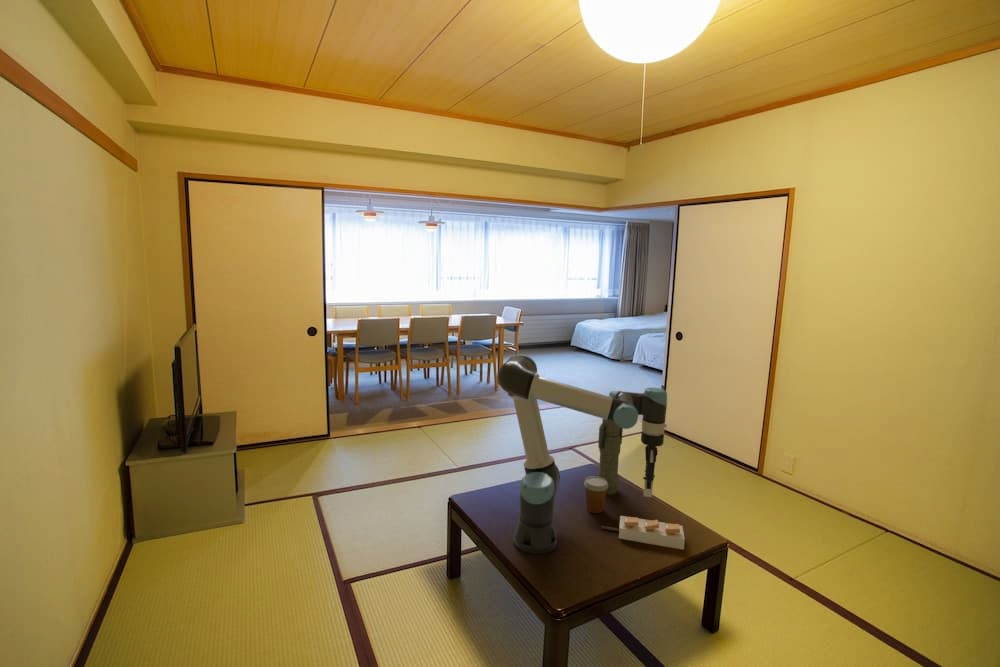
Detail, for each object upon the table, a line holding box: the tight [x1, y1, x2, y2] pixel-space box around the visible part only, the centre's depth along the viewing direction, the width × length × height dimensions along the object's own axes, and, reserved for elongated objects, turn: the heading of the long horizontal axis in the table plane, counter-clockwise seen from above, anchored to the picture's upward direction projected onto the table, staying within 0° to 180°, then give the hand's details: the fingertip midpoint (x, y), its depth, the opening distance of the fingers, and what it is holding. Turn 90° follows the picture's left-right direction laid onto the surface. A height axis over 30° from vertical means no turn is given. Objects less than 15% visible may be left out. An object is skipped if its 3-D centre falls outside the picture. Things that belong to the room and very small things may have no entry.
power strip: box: [601, 515, 686, 550], centre depth 172 cm, size 28×9×5 cm, turn 74°
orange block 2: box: [644, 519, 659, 530], centre depth 169 cm, size 5×3×2 cm
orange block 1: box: [624, 516, 639, 526], centre depth 171 cm, size 5×3×2 cm
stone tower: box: [597, 418, 624, 496], centre depth 204 cm, size 9×12×35 cm
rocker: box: [665, 523, 680, 533], centre depth 167 cm, size 5×3×2 cm
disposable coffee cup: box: [583, 475, 608, 514], centre depth 189 cm, size 10×10×12 cm
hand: (647, 495), depth 168 cm, fingers closed
